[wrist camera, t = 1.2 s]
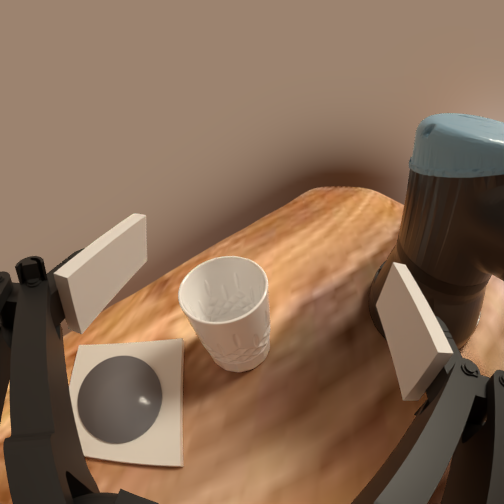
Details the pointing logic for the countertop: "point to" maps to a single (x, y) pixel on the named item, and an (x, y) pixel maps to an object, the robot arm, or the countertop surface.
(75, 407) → the trivet
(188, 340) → the countertop surface
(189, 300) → the white cup
